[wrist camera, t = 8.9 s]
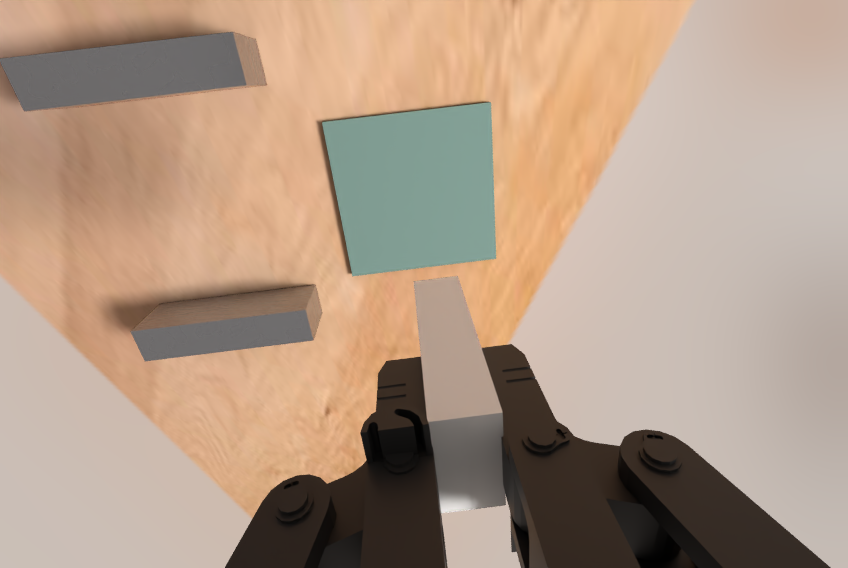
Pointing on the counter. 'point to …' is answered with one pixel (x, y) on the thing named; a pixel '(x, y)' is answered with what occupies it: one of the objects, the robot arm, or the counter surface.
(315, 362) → the counter surface
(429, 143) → the mat
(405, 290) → the counter surface
